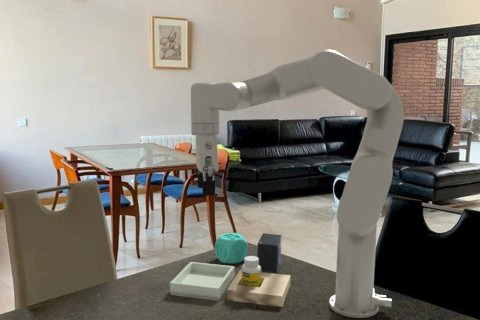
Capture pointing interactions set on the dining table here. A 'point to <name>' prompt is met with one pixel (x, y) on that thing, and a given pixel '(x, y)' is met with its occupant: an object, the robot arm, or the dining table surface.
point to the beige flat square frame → (261, 290)
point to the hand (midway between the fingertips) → (206, 191)
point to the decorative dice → (231, 248)
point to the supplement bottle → (251, 272)
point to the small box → (269, 253)
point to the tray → (202, 281)
